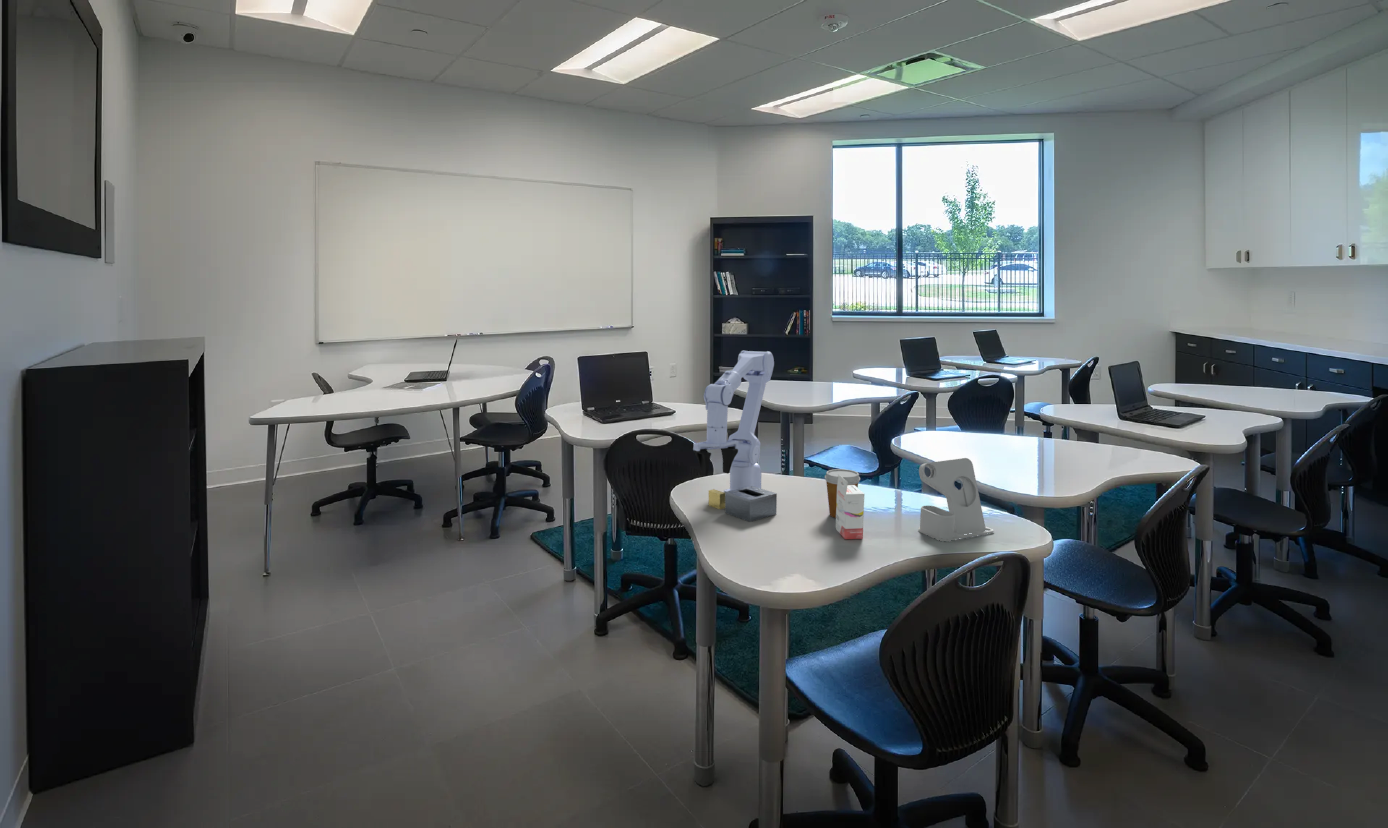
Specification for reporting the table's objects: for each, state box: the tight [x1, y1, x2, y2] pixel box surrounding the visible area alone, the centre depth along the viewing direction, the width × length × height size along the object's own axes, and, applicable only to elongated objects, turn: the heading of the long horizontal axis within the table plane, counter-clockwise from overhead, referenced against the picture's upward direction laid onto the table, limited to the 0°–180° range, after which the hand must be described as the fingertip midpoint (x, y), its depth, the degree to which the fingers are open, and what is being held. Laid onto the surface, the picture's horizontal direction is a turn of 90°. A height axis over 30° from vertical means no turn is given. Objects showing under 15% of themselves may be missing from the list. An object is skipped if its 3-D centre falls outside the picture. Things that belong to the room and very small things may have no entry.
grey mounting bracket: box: [917, 457, 994, 542], centre depth 181 cm, size 17×10×18 cm, turn 113°
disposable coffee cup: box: [824, 468, 861, 519], centre depth 194 cm, size 10×10×12 cm
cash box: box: [724, 486, 778, 523], centre depth 197 cm, size 10×10×6 cm
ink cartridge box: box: [835, 475, 865, 540], centre depth 180 cm, size 9×5×15 cm, turn 5°
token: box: [708, 488, 725, 510], centre depth 204 cm, size 2×5×4 cm, turn 38°
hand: (715, 474), depth 203 cm, fingers open, 7 cm apart
